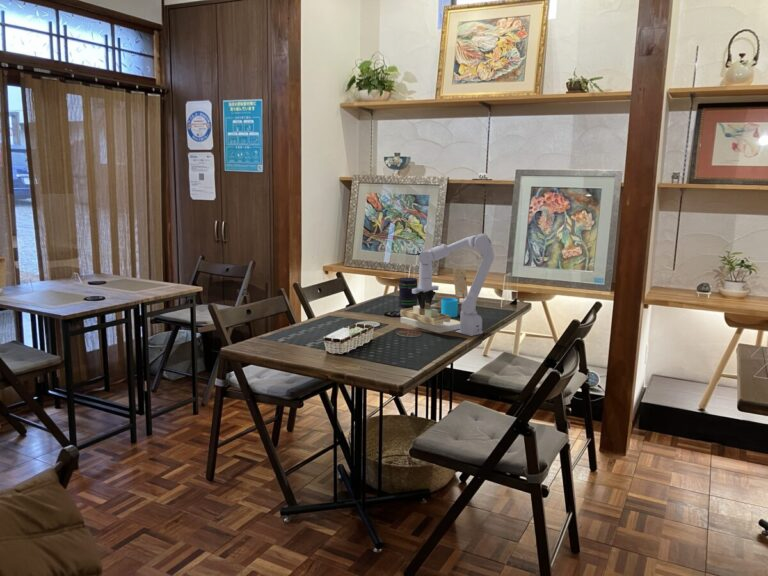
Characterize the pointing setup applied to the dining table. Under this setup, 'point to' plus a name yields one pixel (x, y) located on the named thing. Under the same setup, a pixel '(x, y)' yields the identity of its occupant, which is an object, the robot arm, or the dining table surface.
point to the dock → (435, 328)
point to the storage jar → (407, 292)
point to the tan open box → (423, 318)
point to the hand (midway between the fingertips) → (425, 307)
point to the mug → (449, 306)
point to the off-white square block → (416, 309)
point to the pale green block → (431, 312)
